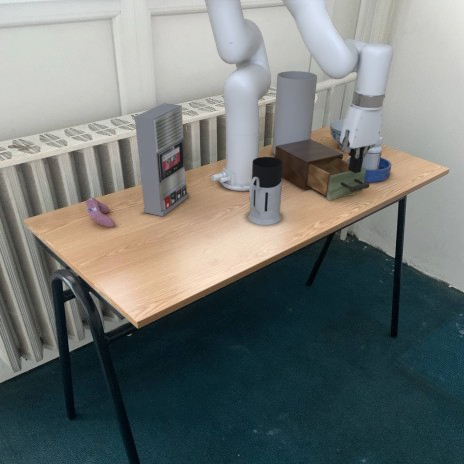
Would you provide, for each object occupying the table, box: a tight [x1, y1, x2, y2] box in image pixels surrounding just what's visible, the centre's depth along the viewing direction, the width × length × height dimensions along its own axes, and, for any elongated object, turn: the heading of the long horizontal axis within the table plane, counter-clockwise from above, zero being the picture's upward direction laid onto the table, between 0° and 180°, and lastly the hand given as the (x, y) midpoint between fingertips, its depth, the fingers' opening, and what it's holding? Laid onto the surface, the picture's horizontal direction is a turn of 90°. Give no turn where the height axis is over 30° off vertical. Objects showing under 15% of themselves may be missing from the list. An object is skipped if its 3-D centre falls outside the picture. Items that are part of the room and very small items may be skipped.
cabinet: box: [274, 138, 344, 191], centre depth 148 cm, size 16×14×9 cm
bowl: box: [346, 156, 393, 183], centre depth 152 cm, size 13×13×4 cm
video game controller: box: [84, 197, 115, 228], centre depth 124 cm, size 10×5×7 cm, turn 21°
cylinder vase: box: [272, 70, 318, 156], centre depth 160 cm, size 12×12×25 cm
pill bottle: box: [362, 135, 384, 170], centre depth 149 cm, size 6×6×11 cm
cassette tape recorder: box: [134, 102, 189, 217], centre depth 126 cm, size 14×6×25 cm, turn 155°
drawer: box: [307, 158, 371, 201], centre depth 139 cm, size 20×12×7 cm, turn 31°
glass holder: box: [247, 156, 283, 226], centre depth 122 cm, size 9×14×15 cm, turn 154°
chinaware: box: [329, 119, 355, 150], centre depth 171 cm, size 15×15×8 cm
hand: (354, 171), depth 132 cm, fingers closed
